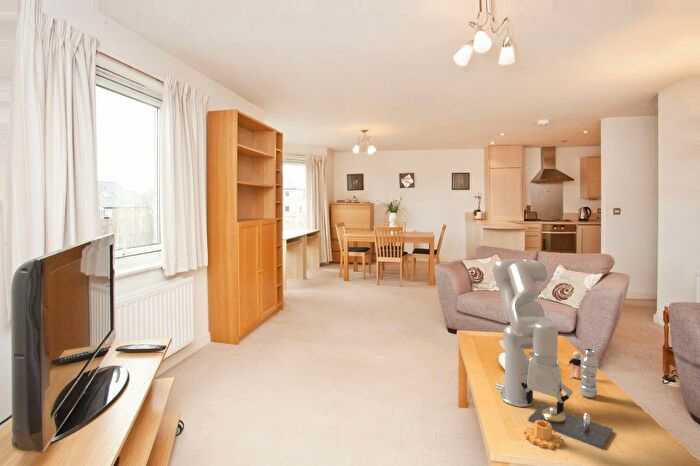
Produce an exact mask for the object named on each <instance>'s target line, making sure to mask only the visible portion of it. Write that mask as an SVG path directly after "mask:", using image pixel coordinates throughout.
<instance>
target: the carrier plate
mask: <svg viewBox="0 0 700 466" xmlns="http://www.w3.org/2000/svg"><path fill="white" fill-rule="evenodd" d="M536 420H543V421H546V422H549V423H550V424H551V425H552V430H553V431H555V433H559V434H561V435H564V436H567V437H568V438H572V439H575V440H577V441H580V442H582V443H584V444H587V445H590V446H593V447H595V448H597V449H600V450H603V448H604V447H605V446H606V444H607V443H608V440H609V439H610V438H611V436H612V434H613V431H614V429H613V428H611V427H608V426H605V425H603V424H599V423H596V422H593V421H591V415H590V413H588V412H585V413H583V418H582V417H579V416H577V415H573V414H570V413H567V412H565V411H563V412H561V413H560V414H557V406H547V405H544V404H542V405H540V406H539V408H537V409H536V410H535V411H534V412H533V413H532V414H530V416H528V420H527V421H528V422H530V423H532V424H534V422H535V421H536Z"/></svg>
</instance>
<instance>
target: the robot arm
mask: <svg viewBox="0 0 700 466" xmlns="http://www.w3.org/2000/svg"><path fill="white" fill-rule="evenodd" d="M492 272H493V278H494V281H495V284H496V286H497V288H498V290H499V293H500V299H501V305H502V313H503V316H504V319H505V321H506V322H508V323H509V325H507V326H506V327H504V329H503V331H502V334H503V335H502V336H503V343H504V355H505V356H504V384H502V383H500V382H496V383H495V389H496V390H498V391H501V392H500V399H501V400H502V401H503V402H504V403H506V404H508V405H511V406H514V407H521V408H523V407H530V406H533V404H534V391H535V392H538V393H541V394H544V395H547V396H551V397H555V398H556V399H557V402H556V408H557V414H560V413H561V412H564V410H565V409H564V408H565V407H564V406H565V405H564V403H565V402H566V401H567V400H569V399H570V397H572V395H573V394H574V391H573V390H572V389H570V387H568V386H566V385H565V384H564V383H563V381H562V380H563V379H562V371H561V366H560V364H559V363H558V353H559V352H558V347H559V346H558V345H559V343H558V341H559V340H558V339H559V337H558V336H559V328H558V326H557V324H555V323H554V322H553V321H552V320H551V318H549V317H546V315H545V314H546V313H545V310H544V307H543V306H542V304H541V303H540V302H539V301H536V299H537V298H538V297H539V290H538V287H537V284H538V283H539V284H540V283H544V282H546V281H547V279H548V269H547V267H546V265H545V264H544V263H543V262H541V261H537V260H535V259H525V258H524V259H521V258H520V259H515V258H514V259H512V258H511V259H510V258H509V259H507V258H506V259H499V260H496V261H495V263H494V264H493V269H492ZM536 283H537V284H536ZM524 350H532V351H529V352H528V354H527V353H526V352H525V351H524ZM529 356H530V357H531V358H532V359H530V358H529ZM563 391H564V392H565V393H566V394H565V395H563V393H562V392H563Z"/></svg>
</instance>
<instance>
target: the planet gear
mask: <svg viewBox="0 0 700 466" xmlns="http://www.w3.org/2000/svg"><path fill="white" fill-rule="evenodd" d="M523 435H524V438H525V440H528V441H530V442H529V444H531V445H536V446H538V447H539V449H540V448H541V449H543V448H548V450H553V449H554V448H557V449H560V447H561V445H563V439H561V438H562V437H561V435H560V434H556V431H553V430H552V425H551V424H550V423H549V422H546V421H543V420H536V421H535V422H534V423H533V427H530V426H526V429H524V431H523Z"/></svg>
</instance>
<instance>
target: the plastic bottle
mask: <svg viewBox="0 0 700 466" xmlns="http://www.w3.org/2000/svg"><path fill="white" fill-rule="evenodd" d="M595 352H596V351H595V350H594V349H593V348H585V349H584V355H583V356H582V357H581V358H580V360H581V364H580V366H581V379H580V385H579V392H580V394H581V396H583V397H586V398H588V399H589V398H590V399H593V398H596V397H597V396H598V387H597V373H598V368H599V362H598V360H597V358H596V357H595V355H596V353H595Z"/></svg>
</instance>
